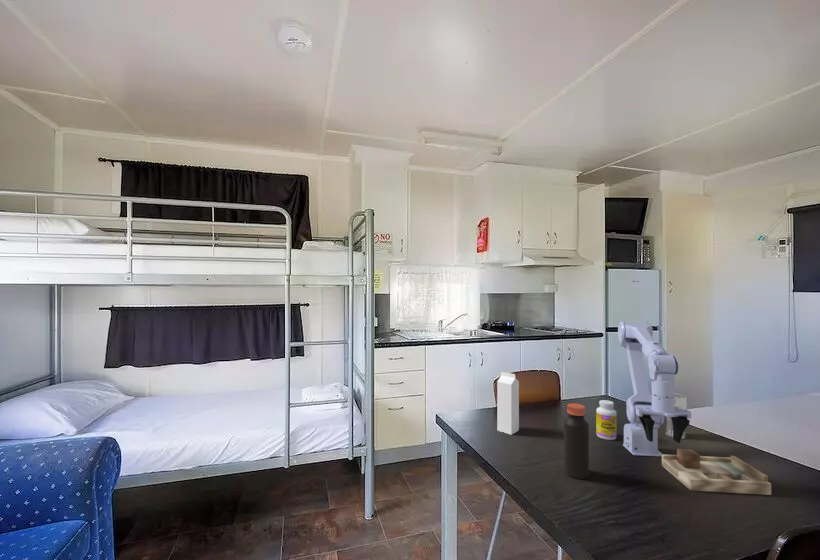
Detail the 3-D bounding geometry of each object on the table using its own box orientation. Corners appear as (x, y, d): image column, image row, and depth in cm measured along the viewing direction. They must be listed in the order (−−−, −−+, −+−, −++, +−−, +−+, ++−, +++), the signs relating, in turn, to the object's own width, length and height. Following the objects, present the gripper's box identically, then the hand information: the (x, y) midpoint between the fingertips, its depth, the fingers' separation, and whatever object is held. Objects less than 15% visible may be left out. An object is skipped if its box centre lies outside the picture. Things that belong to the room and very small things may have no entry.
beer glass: (687, 441, 134) (686, 399, 134) (663, 436, 138) (663, 395, 138) (687, 435, 140) (687, 394, 140) (664, 430, 144) (664, 391, 144)
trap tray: (690, 490, 102) (690, 473, 102) (661, 465, 116) (661, 451, 116) (771, 494, 100) (771, 477, 100) (731, 469, 114) (731, 454, 114)
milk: (511, 435, 139) (511, 375, 139) (497, 430, 143) (497, 373, 143) (519, 430, 144) (519, 372, 144) (504, 426, 148) (504, 370, 148)
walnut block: (685, 468, 109) (685, 454, 109) (677, 461, 113) (676, 448, 113) (700, 469, 109) (699, 455, 109) (691, 462, 113) (691, 449, 113)
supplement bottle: (598, 439, 135) (598, 403, 135) (594, 432, 142) (594, 398, 142) (619, 441, 134) (619, 405, 134) (613, 434, 140) (613, 399, 140)
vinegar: (574, 481, 107) (574, 410, 107) (558, 469, 113) (558, 403, 114) (594, 477, 109) (594, 408, 109) (577, 466, 115) (577, 401, 115)
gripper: (644, 398, 109) (644, 445, 109) (697, 400, 107) (698, 447, 107) (632, 391, 116) (632, 435, 116) (682, 392, 114) (682, 437, 114)
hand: (663, 440), depth 112 cm, fingers open, 7 cm apart
